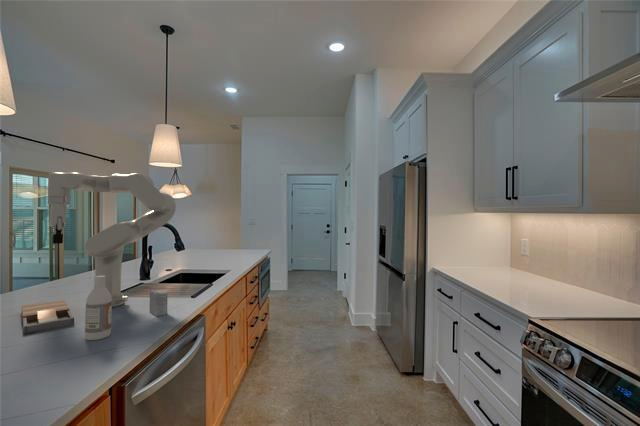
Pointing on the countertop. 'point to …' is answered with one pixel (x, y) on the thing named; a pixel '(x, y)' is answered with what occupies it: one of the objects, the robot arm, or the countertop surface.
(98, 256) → the robot arm
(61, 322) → the tray
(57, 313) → the walnut board
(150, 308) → the medicine box
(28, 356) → the countertop surface
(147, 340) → the countertop surface
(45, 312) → the terracotta tile
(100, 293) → the bath foam
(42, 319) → the cream tile
